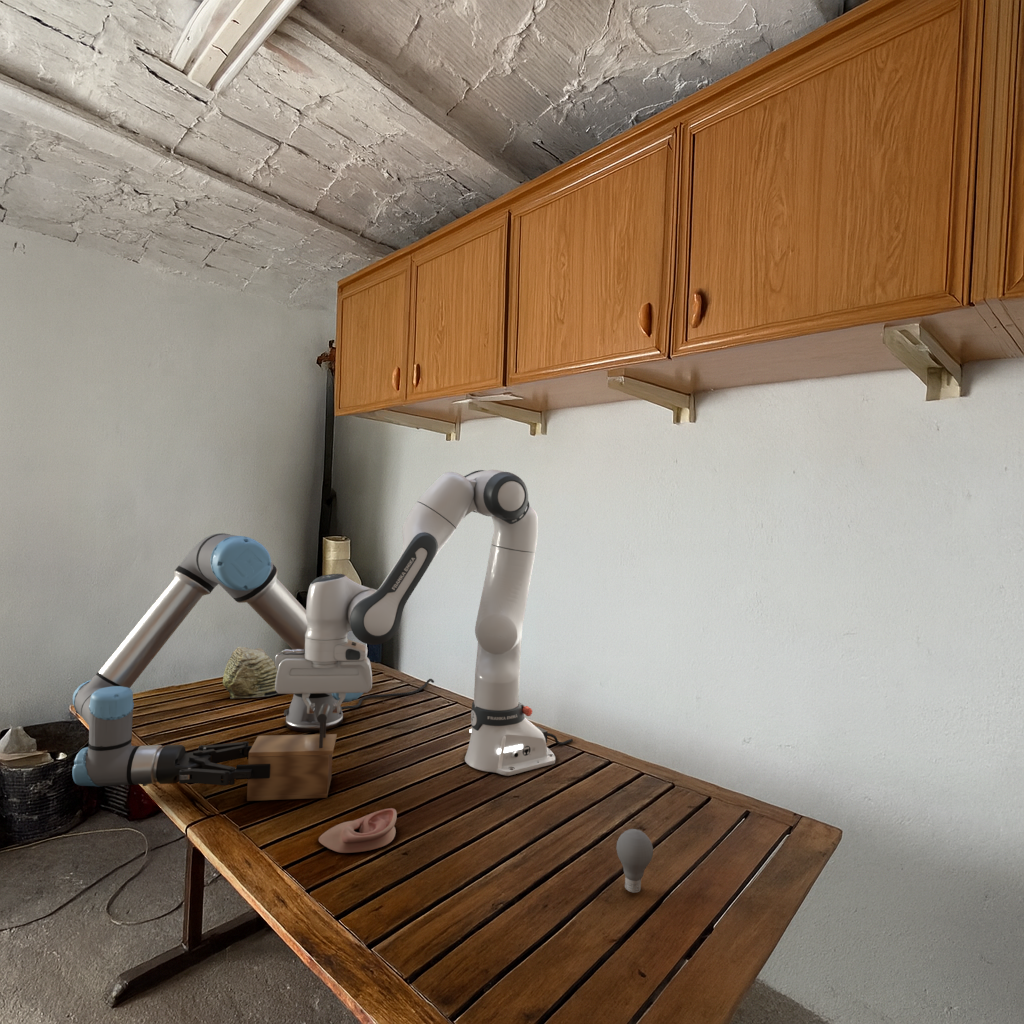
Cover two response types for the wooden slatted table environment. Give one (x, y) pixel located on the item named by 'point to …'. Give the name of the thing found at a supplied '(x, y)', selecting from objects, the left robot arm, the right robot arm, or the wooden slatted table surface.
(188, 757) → the left robot arm
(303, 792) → the chest
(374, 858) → the wooden slatted table surface
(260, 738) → the lid
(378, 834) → the anatomical model
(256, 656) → the fossil
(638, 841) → the light bulb
